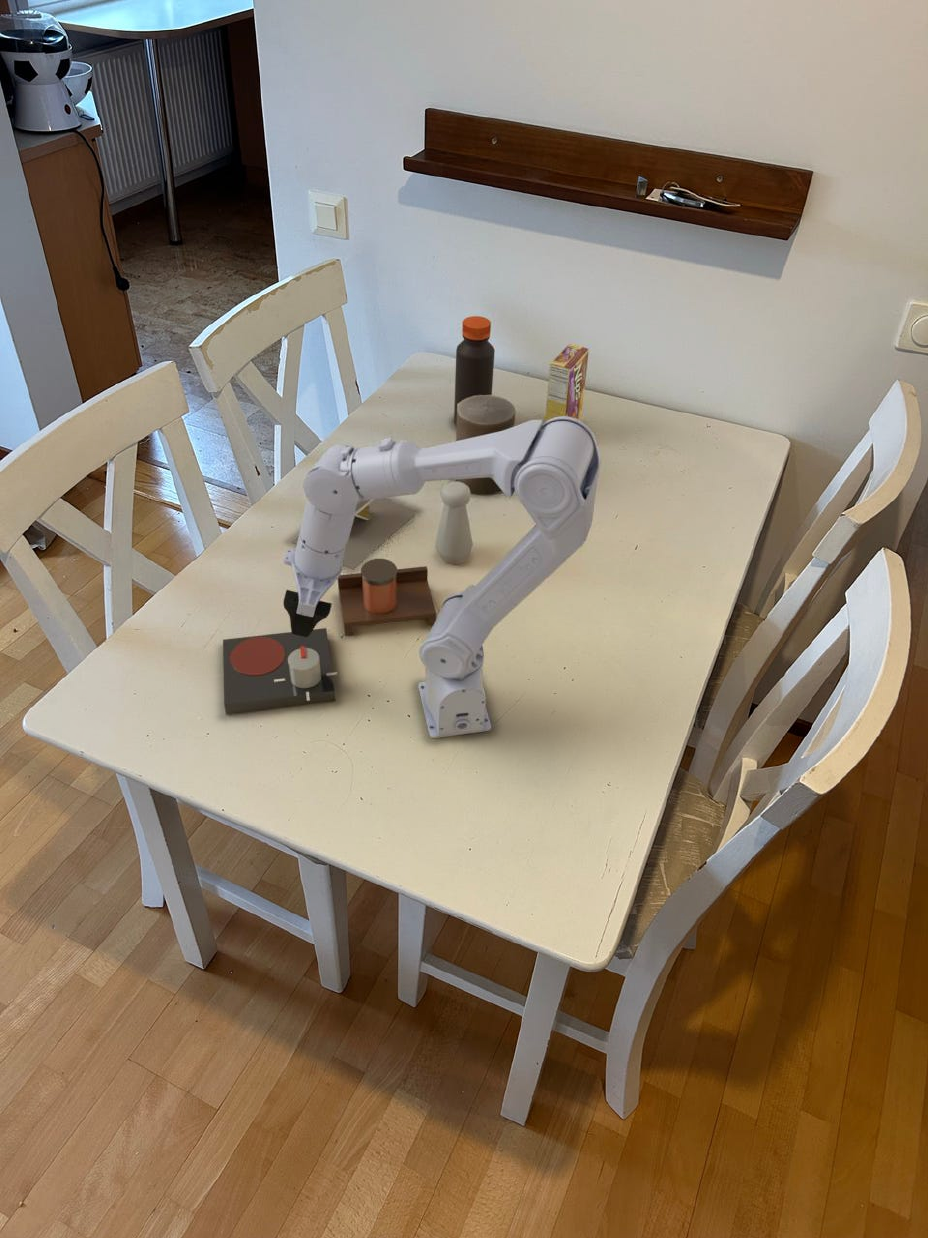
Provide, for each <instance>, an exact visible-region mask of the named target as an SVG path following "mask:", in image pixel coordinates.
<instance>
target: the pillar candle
mask: <svg viewBox="0 0 928 1238" xmlns="http://www.w3.org/2000/svg"><path fill="white" fill-rule="evenodd" d="M457 406H458V407H457V426H455V427H456V428H455V429H456V433H455V441H460V440H464V439H469V438H473V437H478V436H482V435H487V434H491V433H495V432H500V431H503V430H506V429H509V428H512V427H514V426H516V425H515V424H516V407H515V405H514V404H513V403H512V402H511V401H510V400H508V399H506V398H504V397H501V396H499V395H494V394H492V395H478V396H472V397H469V398H466V399H464V400H462V401H461V402H460V403H458V404H457ZM455 482H462V483H464V484H465V485H467V486H468V487H469V489H470V493H471V494H473V495H474V494H475V495H479V496H483V495H484V496H487V495H493V494H498V493H501V492H503V491H502V490H501V489H500V487H499V486H498V485H497V484H496V483H495V481H494V480H493V479H492V478H490V477H486V478H471V479H456V480H455Z"/></svg>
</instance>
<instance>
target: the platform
mask: <svg viewBox="0 0 928 1238" xmlns="http://www.w3.org/2000/svg"><path fill="white" fill-rule="evenodd" d="M418 512H419V511H418V510H416V509H414V508H411V507H410V506H406V505H404V504H402V503H399V502H396V501H394V500H392V499H389V498H381V499H374V500H366V501H360V502H359V503H357V506H356V510H355V517H354V521H353V524H352V528H351V532H350V536H349V539H348V543H347V547H346V550H345V554H344V558H343V561H342V565H343V566H344V567H347V568H349V569H351V570H354V569H355V568H356V567H357V566H358V565H360V563H362V562H363V561H364V560H365V559H366V558H368V556H370V555H371V554H372V553H373V552H374V551H376V549H377V548H379V547H380V546H381V545H382V544H384V542H385V541H387V539H389V538H390V537H391V536H393V535H394V534H395V533H396V532H397V531H398V530H399V529H400V528H402V526H404V524H406V523H407V522H408V521H409V520H410V519H411V518H413V516H414V515H416V514H417V513H418ZM298 537H299V535H298V536H297V537H295V538H294V539H293V540H292V541H291V543H292V544H295V545H297V542H298Z"/></svg>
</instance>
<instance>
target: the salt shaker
mask: <svg viewBox="0 0 928 1238" xmlns="http://www.w3.org/2000/svg"><path fill="white" fill-rule="evenodd" d="M471 494H472V493H470V489H469V487H468V486H467V485H465V484H464V483H462V482H456V481H450V482H448V483H446V484H444V485H443V486H442V488H441V492H440V497H441V501H442V503H443V508H442V512H441V517H440V521H439V524H438V528H437V533H436V537H435V541H434V546H435V549H436V552H437V553H438V555H439V557H440V558H441V559H442V560H443V562H444V563H445V564H450V565H458V564H462V563H463V562H465V561H467V559H468V558H469V556H470V554H471V552H472V550H473V545H474V543H473V537H472V531H471V526H470V520H469V515H468V510H467V504H469V502H470V501H471Z"/></svg>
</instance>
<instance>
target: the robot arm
mask: <svg viewBox="0 0 928 1238" xmlns="http://www.w3.org/2000/svg"><path fill="white" fill-rule="evenodd" d="M543 422H544V423H543ZM601 463H602V457H601V453H600V450H599V447H598V444H597V440H596V437H595V434H594V432H593V431H592V430H591V428H590V427H589V426H588V425H587V424H586V423H584V422H583V421H582V420H581V421H580V420H578V419H575V418H573V417H567V416H559V417H555V418H552V419H550V420H548V421H546V422H545V421H544V419H531V420H527V421H525V422H522V423H520V424H517V425H514V427H512V428H509V429H506V430H503V431H500V432H495V433H491V434H487V435H482V436H478V437H473V438H469V439H464V440H460V441H456V440H455V441H451V442H447V443H443V444H438V445H433V446H428V447H424V448H421V447H420V446H419V445H418V444H417V443H415V442H413V441H411V440H408V439H406V440H399V441H398V440H397V441H395V438H393V437H387V438H383V439H382V440H381V441H380V443H379V444H373V445H369V446H363V447H357V448H356V447H354V446H353V445H348V444H335V445H332V446H329V448H327V449H326V450H325V451H324V453H323V454H322V456H320V458H319V459H318V460H317V461H316V462H315V464H314V465H313V466H312V468H311V469H310V470H309V471H308V472H307V474H306V475H305V478H304V480H303V484H302V485H303V492H304V495H305V497H306V501H305V506H304V508H303V509H304V510H303V515H302V518H301V524H300V527H299V533H298V536H299V537H298V536H297V537H298V542H297V544H296V547H295V549H290V548H289V549H286V550H285V551H284V556H283V564H285V565H287V566H291V569H292V573H293V577H294V582H295V587H296V591H293V590H291V589H290V590H289V589H286V590H285V594H284V598H283V603H282V604H283V608H284V609H285V611H286V612H287V614H288V616H289V621H290V632H292V634H294V635H299V636H303V637H308V636H309V635H310V634H311V632H312V631H313V629H315V628H316V626H317V625H318V624H319V623H320V622H321V621H322V620H325V619H327V618H328V617H329V615H330V613H331V609H332V603H331V602H326V601H323V600H322V598H323V597H324V596H325V594H326V593H328V591H329V590H330V589H331V588H332V586H333V585H334V584H335V583H336V581H338V578H339V576H340V575H342V571H343V566H344V565H342V561H343V558H344V554H345V550H346V547H347V543H348V539H349V536H350V532H351V528H352V524H353V521H354V517H355V510H356V506H357V503H359V502H360V501H366V500H374V499H381V498H387V499H389V498H396V497H403V496H409V495H410V496H411V495H417V494H418V493H419V492H421V490H422V489H423V487H424V485H425V483H426V482H441V481H453V480H454V481H456V479H471V478H486V477H490V478H492V479H493V480H494V481H495V483H496V484H497V485H498V486H499V487H500V489H501V490H502V491H501V492H503V494H504V495H505V497H507V498H510V499H511V498H512V497H513V495H514V493H515V494H516V496H517V498H518V500H519V502H520V503H521V505H522V506H523V508H524V509H525V510H526V512H527V513H528V515H529V516H530V518H531V519H532V521H533V522H534V524H535V525H534V526H532V528H531V529H529V531H528V532H527V533H526V534H525V535H524V536H523V537H521V539H520V540H519V541H518V542H517V543H516V544H515V545H514V546H513V547H512V548H511V549H510V550H509V551H508V552H507V553H506V554H505V555H504V556H503V557H502V558H501V559H500V560H499V561H498V562H496V564H495V565H494V566H493V567H492V568H491V569H490V570H489V571H488V572H487V573H486V574H485V575H484V576H483V577H482V578H481V579H480V580H479V582H477V583H476V584H475V585H474V584H470V585H468V586H467V587H466V588H465V589H464V590H462V591H460V592H456V593H452V594H450V595H448V596H447V597H446V598H445V599H444V601H443V603H442V604H441V609H440V611H439V613H438V615H437V616H436V621H435V623H434V625H433V626H431V629H430V631H429V633H428V635H427V637H426V639H425V640H424V641H423V642H422V644H421V646H420V647H419V651H418V652H419V653H418V654H419V658H420V661H421V663H422V664H423V666H424V667H425V681H421V682H419V683H418V686H417V687H418V691H419V697H420V700H421V701H420V702H421V705H422V709H423V713H424V718H425V722H426V726H427V732H428V735H429V737H430V738H431V739H438V738H447V737H454V736H459V735H467V734H475V733H482V732H489V731H491V730H492V723H491V721H490V716H489V713H488V710H487V696H486V693H485V689H484V685H483V671H484V660H485V659H484V658H485V651H484V646H483V645H484V643H485V642H486V640H487V639H488V638H489V635H490V634H491V633H492V631H493V629H495V627H496V626H497V625H499V623H501V622H502V621H503V620H504V619H505V618H506V617H507V616H508V615H509V614H511V612H512V611H514V609H516V608H517V607H518V606H519V605H520V604H521V603H522V602H523V601H524V600H525V599H526V598H528V596H530V594H532V593H533V592H534V591H535V590H536V589H537V588H538V587H539V586H541V585H542V584H543V583H544V582H545V581H546V580H547V579H548V578H549V577H550V576H551V575H553V573H554V572H556V570H558V569H559V568H560V567H561V566H562V565H563V564H564V563H565V562H566V561H567V560H568V559H570V558H571V557H572V556H573V555H574V554H575V553H576V552H577V551H579V549H581V548H582V546H583V545H584V544H585V542H586V541H587V538H588V537H589V532H590V530H591V527H592V524H593V519H594V509H595V501H596V493H597V485H598V478H599V473H600V469H601Z"/></svg>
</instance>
